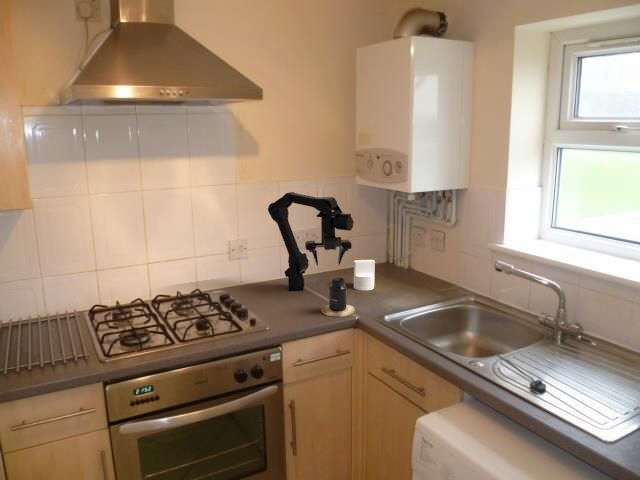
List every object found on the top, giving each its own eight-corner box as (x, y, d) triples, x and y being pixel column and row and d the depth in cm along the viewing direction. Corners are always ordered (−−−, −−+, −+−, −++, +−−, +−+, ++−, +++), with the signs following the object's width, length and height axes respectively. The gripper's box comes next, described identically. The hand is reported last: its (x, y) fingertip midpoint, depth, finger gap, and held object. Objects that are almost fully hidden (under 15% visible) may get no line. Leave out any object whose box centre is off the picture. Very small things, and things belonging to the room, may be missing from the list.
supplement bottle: (329, 311, 206) (329, 281, 203) (328, 305, 212) (328, 276, 210) (347, 311, 206) (347, 281, 203) (346, 305, 212) (346, 276, 210)
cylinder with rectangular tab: (371, 283, 243) (372, 257, 240) (376, 290, 234) (376, 263, 232) (351, 284, 242) (352, 258, 239) (355, 290, 233) (356, 264, 230)
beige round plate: (323, 318, 202) (323, 315, 202) (319, 306, 214) (319, 304, 214) (357, 316, 204) (357, 314, 203) (351, 304, 216) (351, 302, 216)
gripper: (307, 233, 213) (307, 271, 216) (354, 231, 215) (353, 269, 219) (304, 227, 224) (305, 263, 227) (349, 226, 226) (348, 262, 229)
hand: (328, 264), depth 225 cm, fingers open, 9 cm apart
